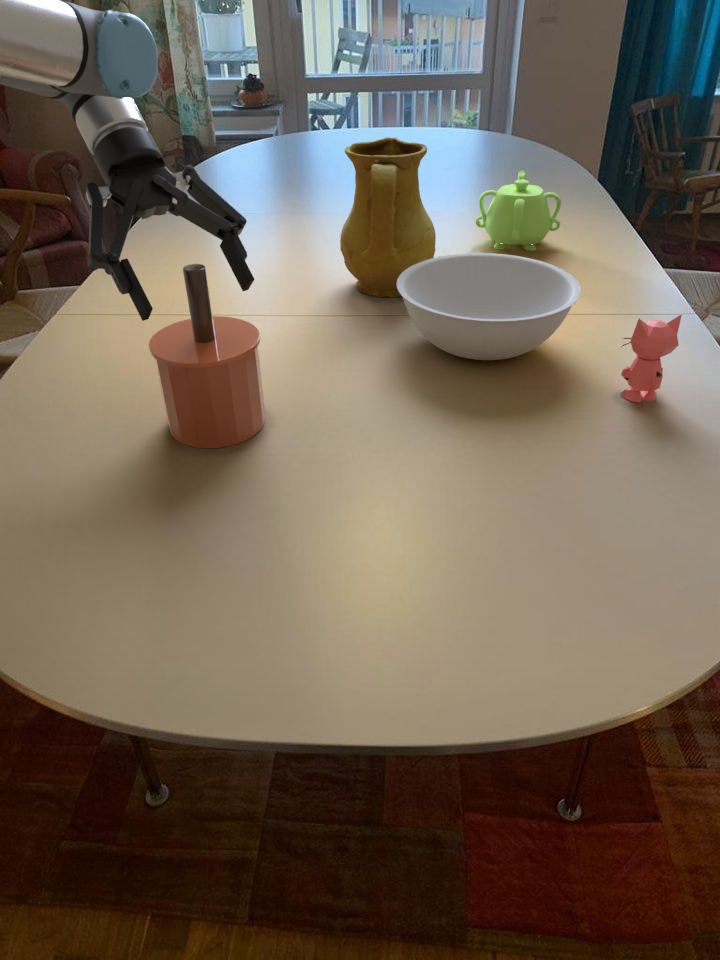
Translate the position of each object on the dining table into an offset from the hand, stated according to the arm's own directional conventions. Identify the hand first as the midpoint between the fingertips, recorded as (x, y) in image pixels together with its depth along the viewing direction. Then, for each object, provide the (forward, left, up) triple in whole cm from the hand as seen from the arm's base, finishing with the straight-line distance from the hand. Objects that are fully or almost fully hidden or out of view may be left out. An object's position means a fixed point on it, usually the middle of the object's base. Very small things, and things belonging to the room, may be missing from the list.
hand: (200, 299), depth 88 cm
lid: (0, 0, -6) cm, 6 cm away
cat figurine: (+58, +6, -18) cm, 61 cm away
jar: (0, 0, -17) cm, 17 cm away
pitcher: (+23, +48, -18) cm, 56 cm away
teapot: (+51, +73, -18) cm, 91 cm away
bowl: (+38, +23, -18) cm, 48 cm away
